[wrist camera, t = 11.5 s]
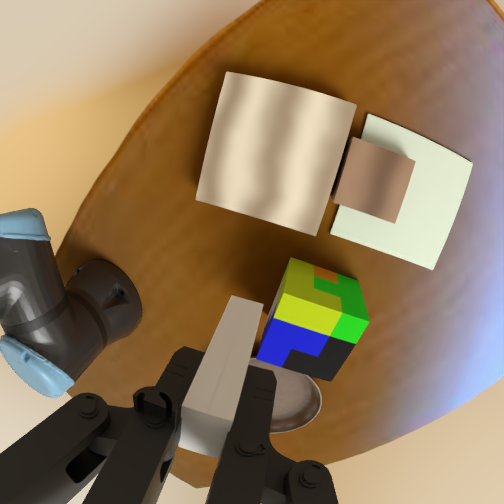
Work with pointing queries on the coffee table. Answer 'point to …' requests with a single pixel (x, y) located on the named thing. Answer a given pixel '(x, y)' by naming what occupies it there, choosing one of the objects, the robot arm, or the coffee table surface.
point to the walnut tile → (373, 180)
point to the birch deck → (274, 151)
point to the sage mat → (411, 198)
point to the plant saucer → (291, 398)
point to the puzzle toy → (313, 321)
